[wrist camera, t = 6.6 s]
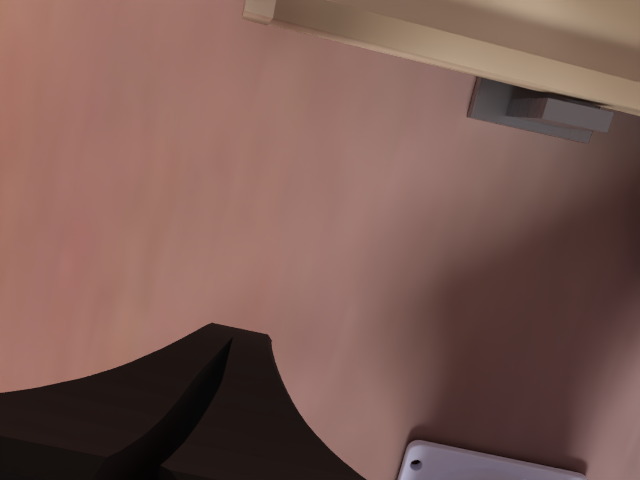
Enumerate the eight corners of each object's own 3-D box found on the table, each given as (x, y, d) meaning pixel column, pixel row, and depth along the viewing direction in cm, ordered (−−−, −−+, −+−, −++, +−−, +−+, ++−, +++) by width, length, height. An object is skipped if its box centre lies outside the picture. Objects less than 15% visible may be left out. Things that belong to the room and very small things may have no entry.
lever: (729, 302, 21) (781, 324, 19) (208, 218, 16) (206, 235, 14) (855, 7, 18) (929, -2, 16) (275, -187, 14) (284, -231, 12)
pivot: (581, 142, 20) (642, 151, 16) (466, 117, 20) (499, 120, 16) (650, -68, 18) (737, -116, 14) (524, -96, 18) (578, -154, 14)
